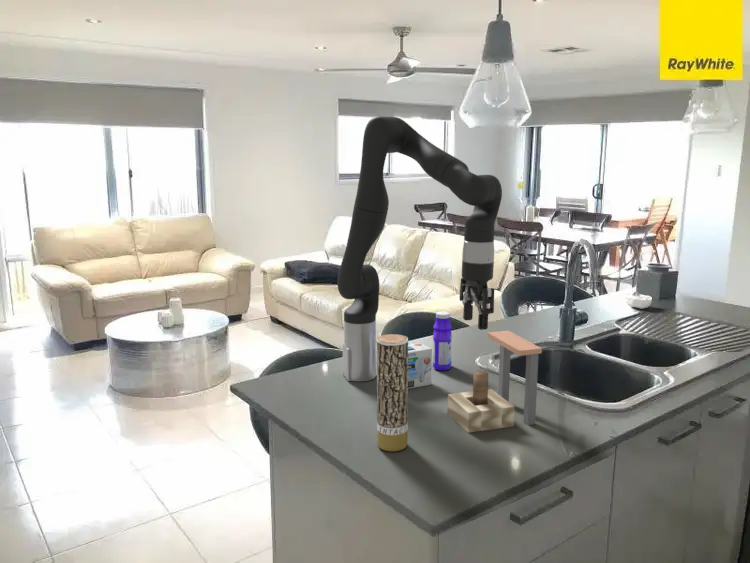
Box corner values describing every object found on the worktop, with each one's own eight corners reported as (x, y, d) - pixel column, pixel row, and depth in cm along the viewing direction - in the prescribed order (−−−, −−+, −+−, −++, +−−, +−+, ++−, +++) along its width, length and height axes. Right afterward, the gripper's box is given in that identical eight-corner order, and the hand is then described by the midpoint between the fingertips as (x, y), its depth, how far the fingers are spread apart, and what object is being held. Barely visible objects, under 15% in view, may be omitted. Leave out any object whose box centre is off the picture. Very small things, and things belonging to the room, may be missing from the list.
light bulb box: (399, 391, 170) (399, 353, 168) (388, 383, 176) (388, 347, 174) (432, 384, 175) (432, 348, 173) (420, 377, 181) (420, 342, 179)
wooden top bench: (515, 427, 147) (519, 350, 143) (485, 402, 162) (487, 332, 158) (538, 424, 148) (541, 348, 144) (505, 400, 163) (508, 330, 159)
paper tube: (376, 439, 141) (375, 334, 136) (405, 438, 141) (405, 333, 136) (378, 453, 134) (378, 343, 129) (409, 452, 135) (410, 342, 130)
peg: (489, 421, 150) (491, 374, 148) (476, 423, 149) (477, 376, 147) (482, 415, 154) (484, 369, 151) (469, 417, 153) (470, 371, 150)
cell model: (637, 312, 255) (638, 296, 253) (618, 305, 266) (619, 290, 265) (657, 310, 257) (659, 294, 256) (638, 304, 269) (639, 288, 267)
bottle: (450, 372, 185) (451, 316, 181) (431, 371, 186) (432, 315, 182) (452, 364, 192) (453, 310, 188) (434, 363, 193) (434, 309, 189)
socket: (467, 432, 144) (468, 412, 143) (447, 412, 155) (447, 394, 154) (513, 426, 147) (514, 406, 146) (490, 407, 159) (491, 388, 158)
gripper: (506, 264, 142) (502, 331, 145) (479, 253, 155) (476, 315, 159) (476, 265, 140) (473, 333, 143) (451, 254, 153) (449, 317, 156)
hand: (474, 324), depth 151 cm, fingers open, 8 cm apart
